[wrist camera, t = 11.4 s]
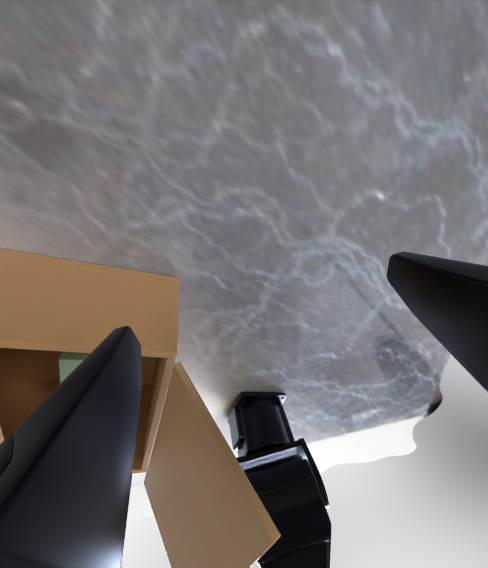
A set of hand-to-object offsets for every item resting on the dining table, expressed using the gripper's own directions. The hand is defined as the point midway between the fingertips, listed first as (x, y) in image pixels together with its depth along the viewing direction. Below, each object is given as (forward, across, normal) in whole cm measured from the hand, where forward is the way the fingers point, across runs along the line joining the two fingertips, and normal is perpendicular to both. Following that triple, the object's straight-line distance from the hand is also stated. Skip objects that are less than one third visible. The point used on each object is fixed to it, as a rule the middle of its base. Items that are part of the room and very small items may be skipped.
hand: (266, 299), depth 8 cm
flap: (-1, +7, +12) cm, 14 cm away
